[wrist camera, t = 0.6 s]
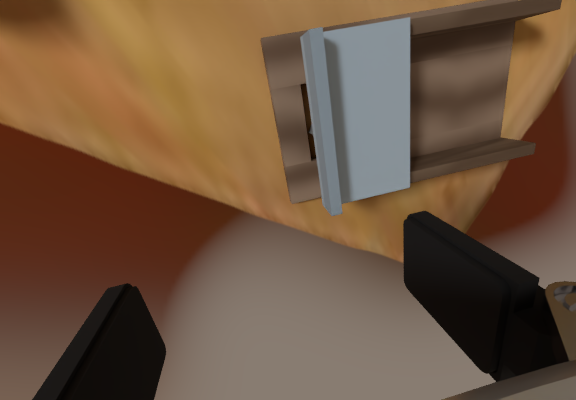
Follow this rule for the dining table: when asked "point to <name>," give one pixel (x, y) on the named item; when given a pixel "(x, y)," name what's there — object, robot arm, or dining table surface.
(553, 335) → the robot arm
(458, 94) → the game box
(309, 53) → the sliding lid
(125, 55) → the dining table surface
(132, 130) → the dining table surface
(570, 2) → the dining table surface
